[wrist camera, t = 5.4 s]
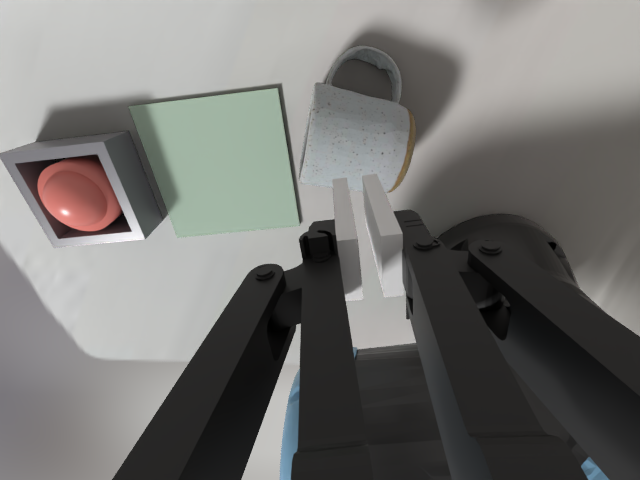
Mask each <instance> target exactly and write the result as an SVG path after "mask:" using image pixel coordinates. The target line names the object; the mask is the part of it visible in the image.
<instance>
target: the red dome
mask: <svg viewBox="0 0 640 480" xmlns="http://www.w3.org/2000/svg"><path fill="white" fill-rule="evenodd" d="M37 186H38V193H39V196H40V199H41V201H42V203H43V204H44V206H45V207H46V209H47V210H48V211H49V212H50V213H51V214H52V215H53V216H54V217H55V218H56V219H58V220H59V221H60V222H62V223H64V224H65V225H67V226H69V227H72V228H74V229H77V230H82V231H97V230H101V229H103V228H105V227H106V226H108V225H109V224H110V223H112V222H113V221H114V220H115V219H116V218H118V217H119V216H120V215H121V214H123V213H124V212H123V210H122V208H121V206H120V203H119V201H118V199H117V197H116V195H115V192H114V190H113V188H112V186H111V183H110V181H109V179H108V177H107V174H106V172H105V170H104V168H103V165H102V163H101V161H100V159H99V156H98V155H95V154H93V155H84V156H76V157H69V158H67V159H64V160H62V161H60V162H57V163H55V164H53V165H50V166H48V167H47V168H45V169H44V170H43V171H42V173H41V174H40V176H39V179H38V185H37Z"/></svg>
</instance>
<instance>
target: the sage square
mask: <svg viewBox="0 0 640 480" xmlns="http://www.w3.org/2000/svg"><path fill="white" fill-rule="evenodd" d="M129 110H130V113H131V115H132V118H133V121H134V123H135V126H136V129H137V131H138V134H139V137H140V139H141V142H142V145H143V148H144V150H145V153H146V156H147V158H148V161H149V164H150V166H151V169H152V172H153V174H154V177H155V180H156V182H157V185H158V188H159V190H160V193H161V196H162V198H163V201H164V204H165V206H166V209H167V212H168V214H169V217H170V220H171V222H172V225H173V228H174V230H175V233H176V236H177V238H181V237H191V236H201V235H212V234H222V233H232V232H243V231H253V230H263V229H274V228H284V227H294V226H300V221H299V215H298V209H297V203H296V197H295V190H294V184H293V178H292V172H291V165H290V159H289V153H288V147H287V141H286V134H285V128H284V122H283V116H282V109H281V103H280V97H279V91H278V88H271V89H263V90H255V91H247V92H239V93H231V94H223V95H215V96H207V97H199V98H191V99H183V100H175V101H167V102H159V103H151V104H143V105H135V106H129Z"/></svg>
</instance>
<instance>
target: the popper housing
mask: <svg viewBox="0 0 640 480" xmlns="http://www.w3.org/2000/svg"><path fill="white" fill-rule="evenodd" d="M93 154H98V156H99V159H100V161H101V163H102V165H103V168H104V170H105V172H106V174H107V177H108V179H109V181H110V183H111V186H112V188H113V190H114V192H115V195H116V197H117V199H118V201H119V203H120V206H121V208H122V210H123V212H124V215H125V216H119V217H118V218H116V219H115V220H114V221H113V222H112V223H110V224H109V225H108V226H106V227H105V228H103V229H101V230H97V231H82V230H77V229H74V228H72V227H69V226H67V225H65V224H64V223H62V222H60V221H59V220H58V219H56V218H55V217H54V216H53V215H52V214H51V213H50V212H49V211H48V210H47V209H46V207H45V206H44V204H43V203H42V201H41V199H40V196H39V193H38V186H37V185H38V179H39V176H40V174H41V173H42V171H43V170H44V169H45V168H47V167H48V166H50V165H53V164H55V161H54V159H58V158H67V157H76V156H84V155H93ZM0 158H1V160H2V162H3V163H4V165H5V167H6V168H7V170H8V172H9V174H10V175H11V177H12V179H13V180H14V182H15V184H16V185H17V187H18V189H19V190H20V192H21V194H22V195H23V197H24V199H25V200H26V202H27V204H28V205H29V207H30V209H31V210H32V212H33V214H34V216H35V217H36V219H37V221H38V222H39V224H40V226H41V227H42V229H43V231H44V232H45V234H46V236H47V237H48V239H49V241H50V242H51V244H52V246H53V247H54V248H60V247H70V246H81V245H91V244H101V243H112V242H122V241H132V240H142V239H146V238H147V237H148V236H149V235H150V234H151V232H152V231H153V230H154V229H155V228H156V227H157V226H158V225H159V224H160V223H161V222H162V221H163V218H162V216H161V213H160V211H159V208H158V205H157V203H156V200H155V198H154V195H153V193H152V190H151V187H150V185H149V182H148V180H147V177H146V174H145V172H144V169H143V167H142V164H141V161H140V159H139V156H138V154H137V151H136V149H135V146H134V143H133V141H132V138H131V136H130V133H129V131H124V132H115V133H107V134H99V135H90V136H82V137H73V138H65V139H57V140H48V141H40V142H34V143H31V144H27V145H24V146H21V147H18V148H15V149H12V150H9V151H6V152H3V153H0Z"/></svg>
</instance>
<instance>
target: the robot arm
mask: <svg viewBox="0 0 640 480" xmlns="http://www.w3.org/2000/svg"><path fill="white" fill-rule="evenodd" d="M362 182H363V195H364V208H365V221H366V226H367V230H368V234H369V238H370V242H371V246H372V251H373V255H374V259H375V263H376V267H377V271H378V275H379V279H380V283H381V287H382V291H383V296H384V298H385V297H395V296H404V288H405V291H406V319H410V320H411V324H412V328H413V331H414V335H415V339H416V343H412V344H403V345H395V346H386V347H377V348H368V349H359V350H357V348H354V347H353V346H352V339H351V333H350V326H349V320H348V313H347V307H346V301H354V300H363V290H362V280H361V269H360V258H359V247H358V237H357V232H356V226H355V221H354V215H353V210H352V204H351V199H350V193H349V188H348V182H347V177H346V178H338V179H332V184H333V200H334V216H335V219H333V220H324V221H316V222H313V223H312V225H311V226H310V227H309V231H308V232H306V233H304V234H303V235H301V236H300V239H299V243H300V248H301V253H302V258H303V263H302V264H301V265H299V266H297V267H296V268H293V269H290V270H287V271H283V269H282V267H281V266H279V265H277V264H264V265H260V266H258V267H256V268H254V269H253V270H251V271H250V272H249V273H248V274H247V276H246V277H245V279H244V280H243V282H242V284H241V285H240V287H239V288H238V290H237V291H236V293H235V294H234V296H233V297H232V299H231V300H230V302H229V303H228V305H227V306H226V308H225V309H224V311H223V312H222V314H221V315H220V317H219V318H218V320H217V321H216V323H215V324H214V326H213V328H212V329H211V331H210V332H209V334H208V335H207V337H206V338H205V340H204V341H203V343H202V344H201V346H200V347H199V349H198V350H197V352H196V353H195V355H194V356H193V358H192V359H191V361H190V362H189V364H188V365H187V367H186V368H185V370H184V371H183V373H182V375H181V376H180V378H179V379H178V381H177V382H176V384H175V385H174V387H173V388H172V390H171V392H170V393H169V394H168V396H167V397H166V399H165V400H164V402H163V404H162V405H161V406H160V408H159V410H158V411H157V412H156V414H155V415H154V417H153V419H152V420H151V422H150V423H149V425H148V426H147V428H146V429H145V431H144V432H143V434H142V435H141V437H140V438H139V440H138V441H137V443H136V444H135V446H134V447H133V449H132V451H131V452H130V453H129V455H128V457H127V458H126V459H125V461H124V463H123V464H122V466H121V467H120V469H119V470H118V472H117V473H116V475H115V476H114V478H113V479H112V480H241V478H242V476H243V473H244V470H245V467H246V464H247V462H248V459H249V457H250V454H251V451H252V448H253V445H254V443H255V440H256V437H257V435H258V432H259V429H260V426H261V424H262V421H263V418H264V415H265V413H266V410H267V407H268V405H269V402H270V399H271V396H272V393H273V391H274V388H275V385H276V383H277V380H278V377H279V374H280V372H281V369H282V366H283V363H284V361H285V358H286V355H287V352H288V350H289V347H290V344H291V342H292V339H293V336H294V333H295V331H296V325H297V324H300V323H301V344H300V369H299V371H298V372H297V374H296V376H295V379H294V382H293V384H292V388H291V391H290V395H289V399H288V405H287V410H286V416H285V422H284V430H283V439H282V448H281V462H280V480H640V337H639V336H638V335H636V334H635V333H634V332H632V331H631V330H629V329H628V328H626V327H625V326H624V325H622V324H621V323H619V322H618V321H616V320H615V319H613V318H612V317H611V316H609V315H608V314H607V313H606V312H604V311H603V310H602V309H601V308H600V307H599V306H598V305H597V304H596V303H594V302H593V301H592V300H591V299H590V298H589V297H588V296H587V295H586V294H585V293H584V292H583V291H582V290H580V288H579V286H578V284H577V281H576V279H575V277H574V274H573V272H572V270H571V268H570V265H569V263H568V261H567V259H566V256H565V254H564V252H563V250H562V248H561V246H560V245H559V244H558V242H557V241H556V240H555V239H554V238H553V237H552V236H551V235H550V234H548V233H547V232H546V231H545V230H544V229H542V228H541V227H540V226H539V225H537V224H536V223H534V222H532V221H530V220H528V219H525V218H522V217H519V216H514V215H505V214H497V215H487V216H482V217H478V218H474V219H471V220H468V221H466V222H463V223H461V224H459V225H457V226H455V227H453V228H452V229H450V230H448V231H447V232H445V233H444V234H443V235H441V236H440V237H439V238H438V239H436V238H433V237H431V235H430V233H429V232H428V230H427V228H426V227H425V225H424V223H423V221H421V218H420V216H419V215H418V214H417V213H416V212H414V211H412V210H402V211H394V212H393V210H392V208H391V205H390V203H389V201H388V199H387V196H386V194H385V192H384V189H383V187H382V185H381V182H380V180H379V178H378V176H377V174H369V175H362Z"/></svg>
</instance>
